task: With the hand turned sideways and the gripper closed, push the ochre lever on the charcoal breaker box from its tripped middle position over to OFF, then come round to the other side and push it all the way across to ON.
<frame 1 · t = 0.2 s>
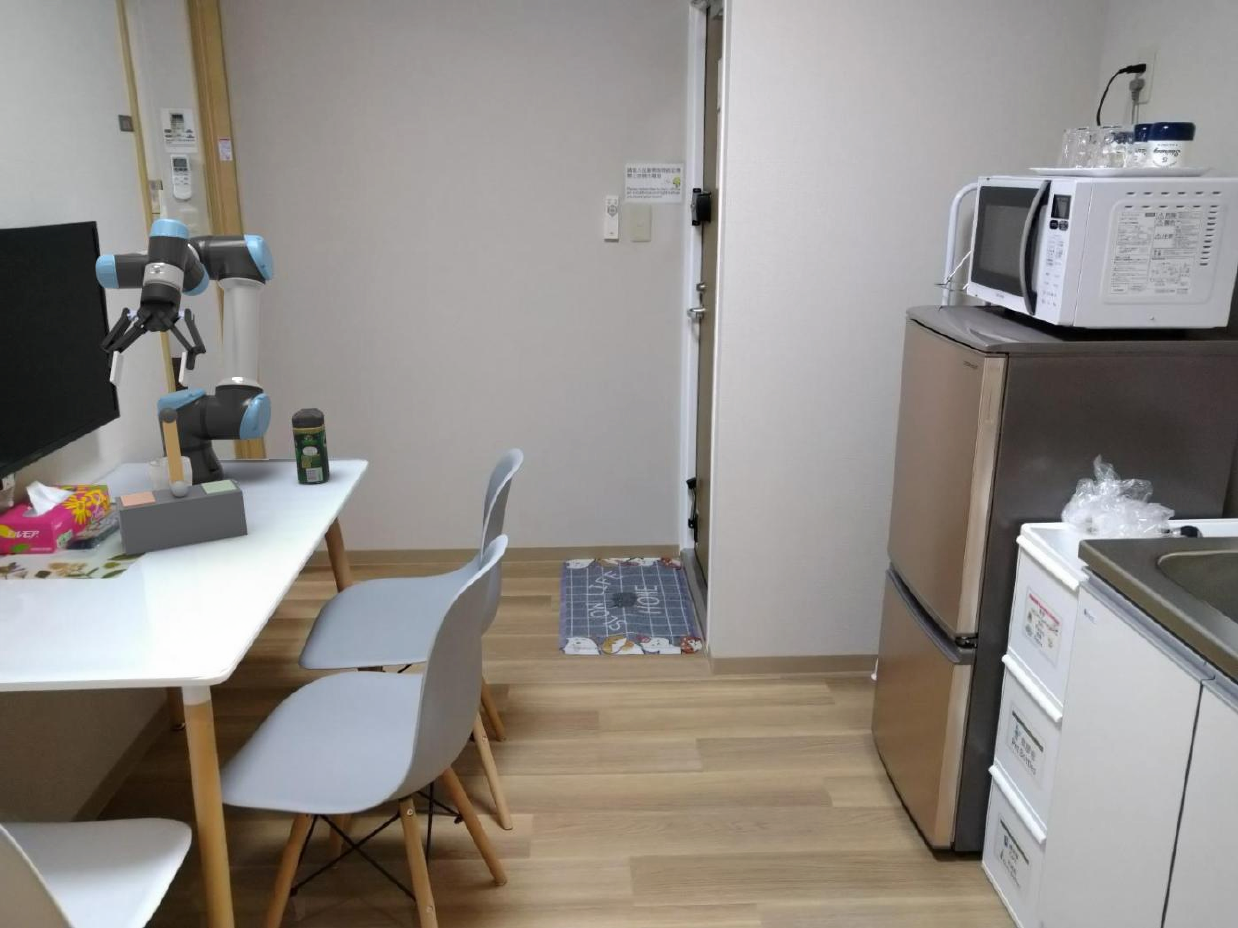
hand: (148, 384, 193), 35 cm above the table, tool tilted 35°, fingers open, 13 cm apart
lever: (173, 450, 201), point 20 cm above the table, hinge at 0.0°
breaker box: (185, 537, 207), on the table
cup: (176, 510, 224), on the table
coffee jar: (314, 480, 247), on the table
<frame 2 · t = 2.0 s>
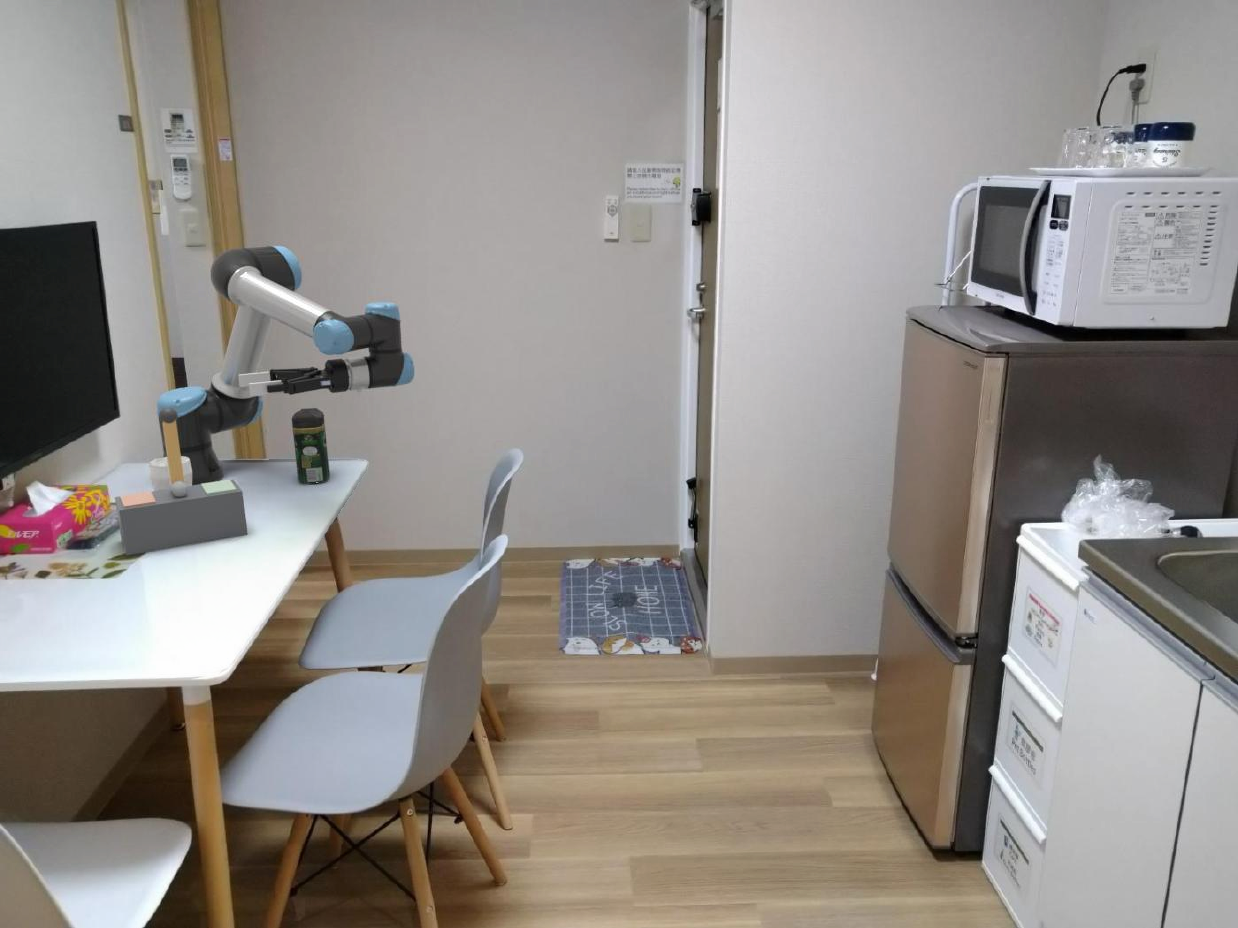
hand: (244, 385, 206), 32 cm above the table, tool horizontal, fingers open, 11 cm apart
nothing on the table moved.
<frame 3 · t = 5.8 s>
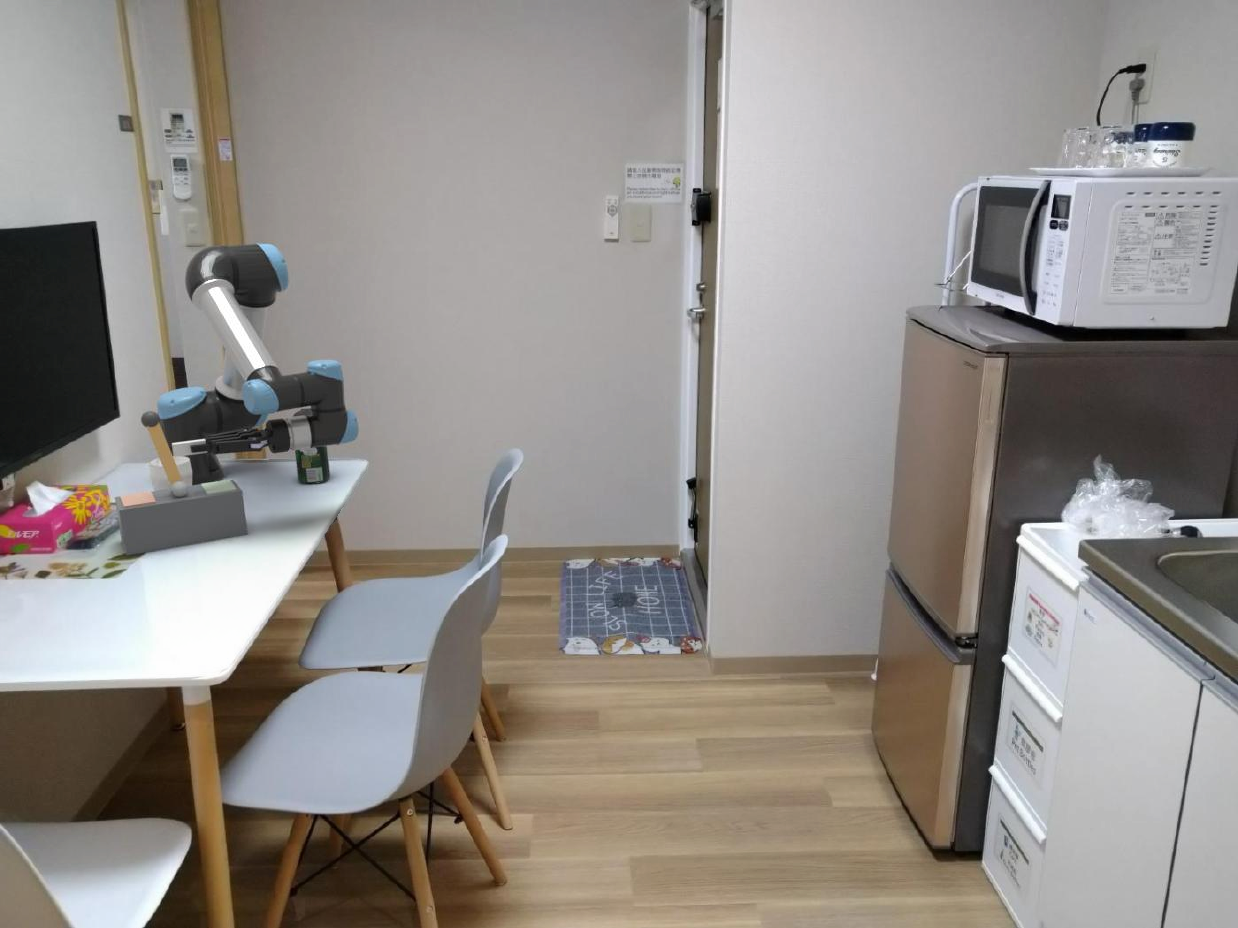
hand: (173, 450, 200), 20 cm above the table, tool horizontal, fingers closed
lever: (164, 452, 200), point 20 cm above the table, hinge at -12.7°, touching gripper
everything else where it was.
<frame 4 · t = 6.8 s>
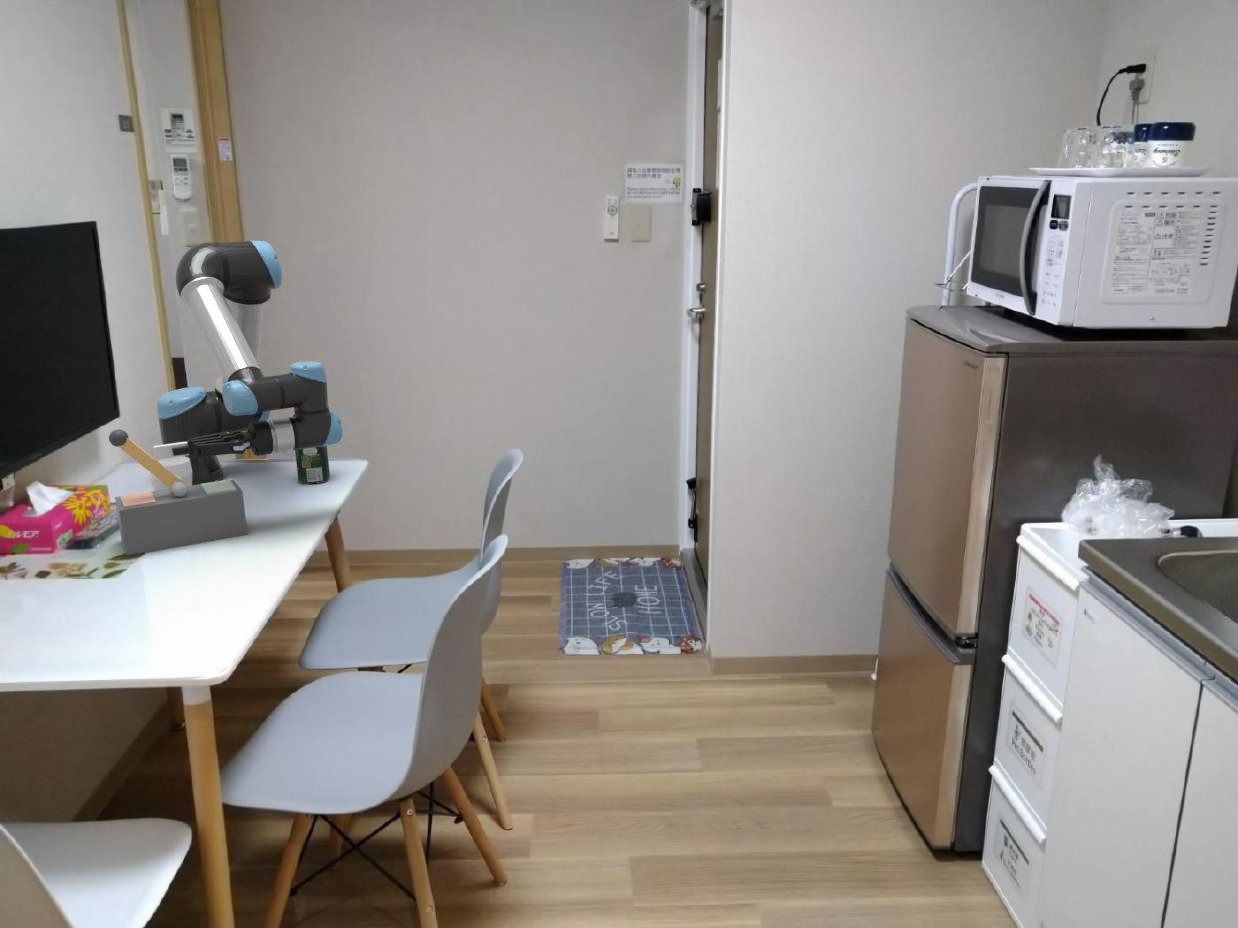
hand: (154, 452, 199), 20 cm above the table, tool horizontal, fingers closed
lever: (148, 462, 199), point 18 cm above the table, hinge at -39.0°, touching gripper
everything else where it was.
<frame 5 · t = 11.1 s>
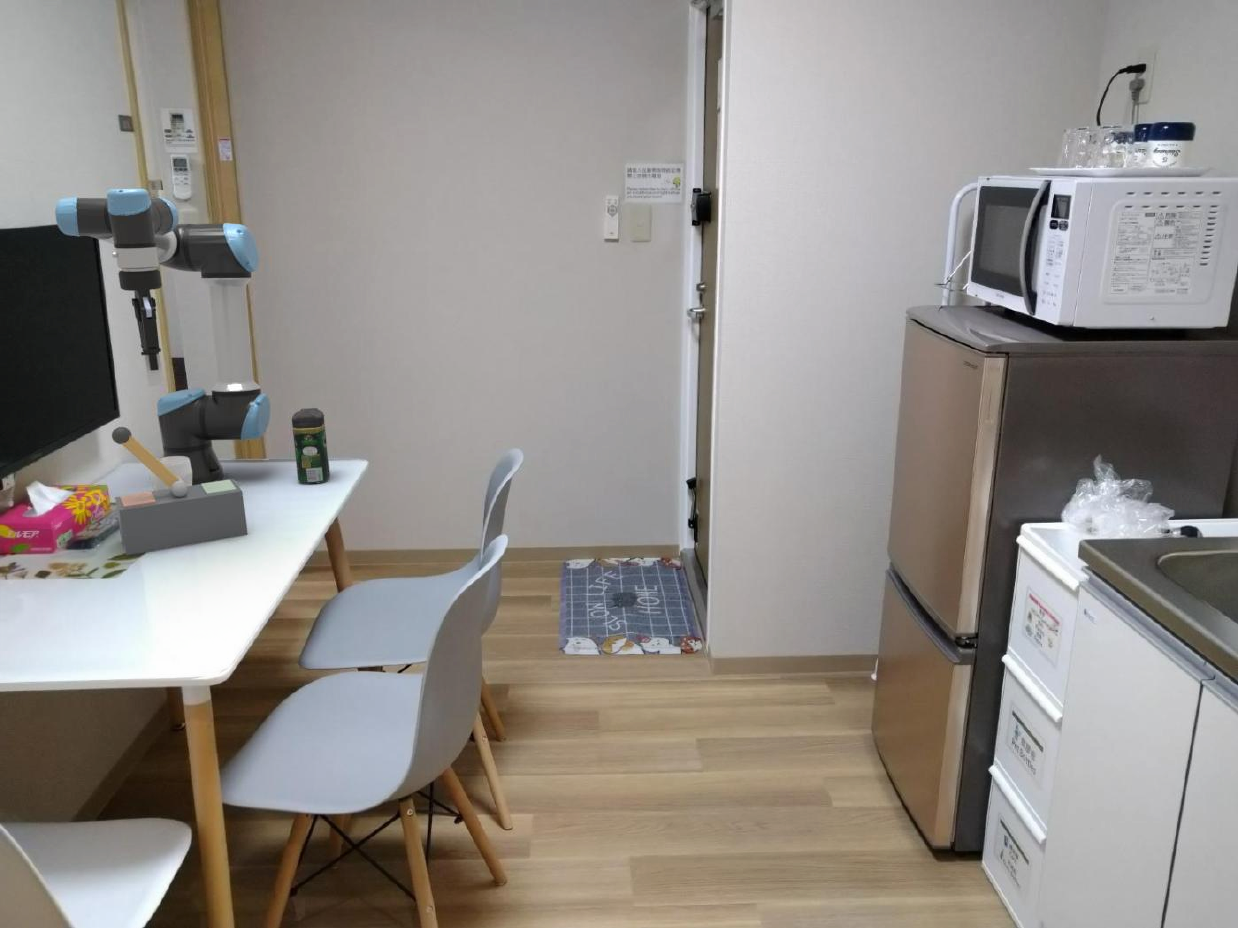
hand: (155, 384, 196), 34 cm above the table, tool pointing down, fingers closed
lever: (149, 460, 199), point 18 cm above the table, hinge at -36.2°
everything else where it was.
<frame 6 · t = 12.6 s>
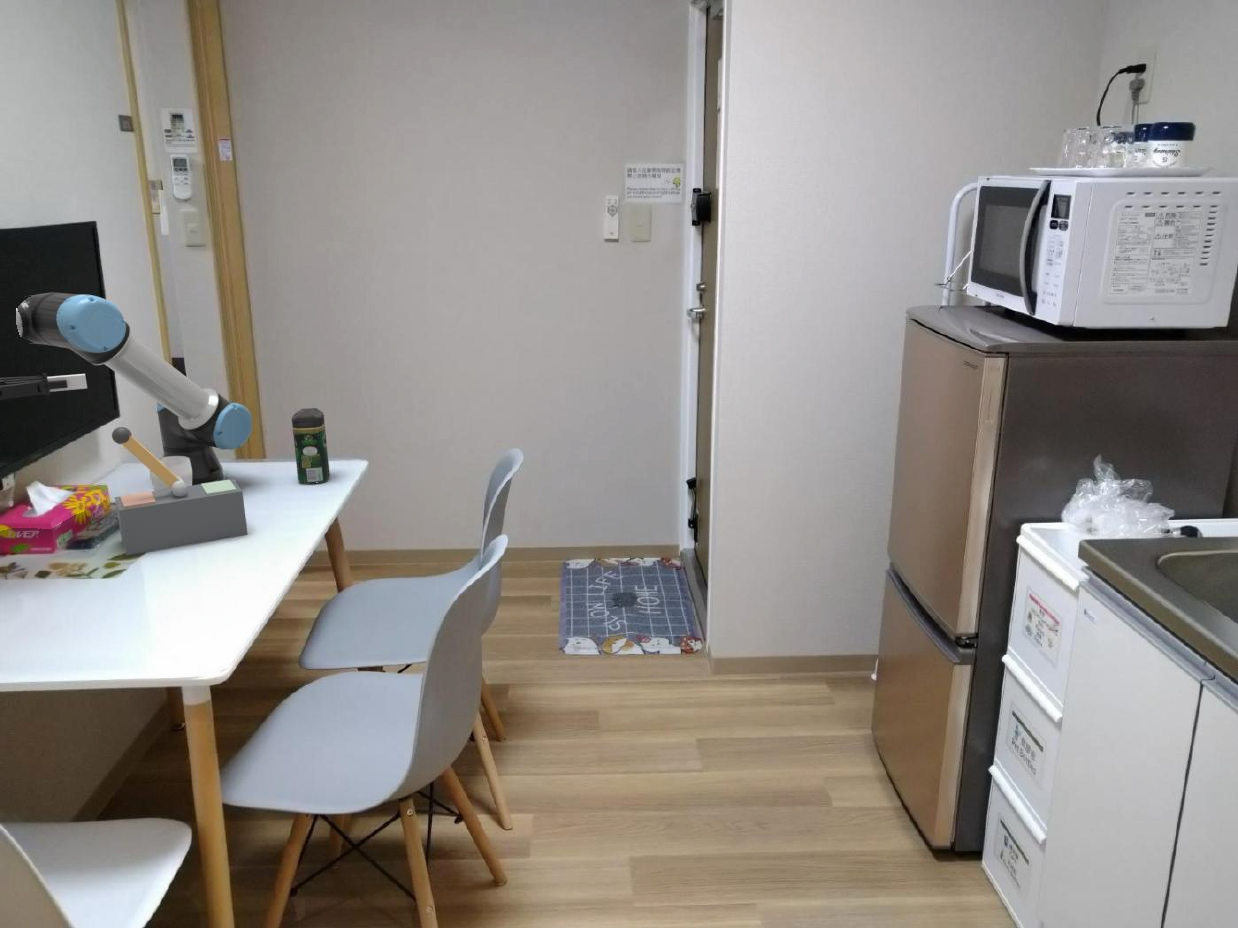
hand: (85, 381, 189), 36 cm above the table, tool horizontal, fingers closed
nothing on the table moved.
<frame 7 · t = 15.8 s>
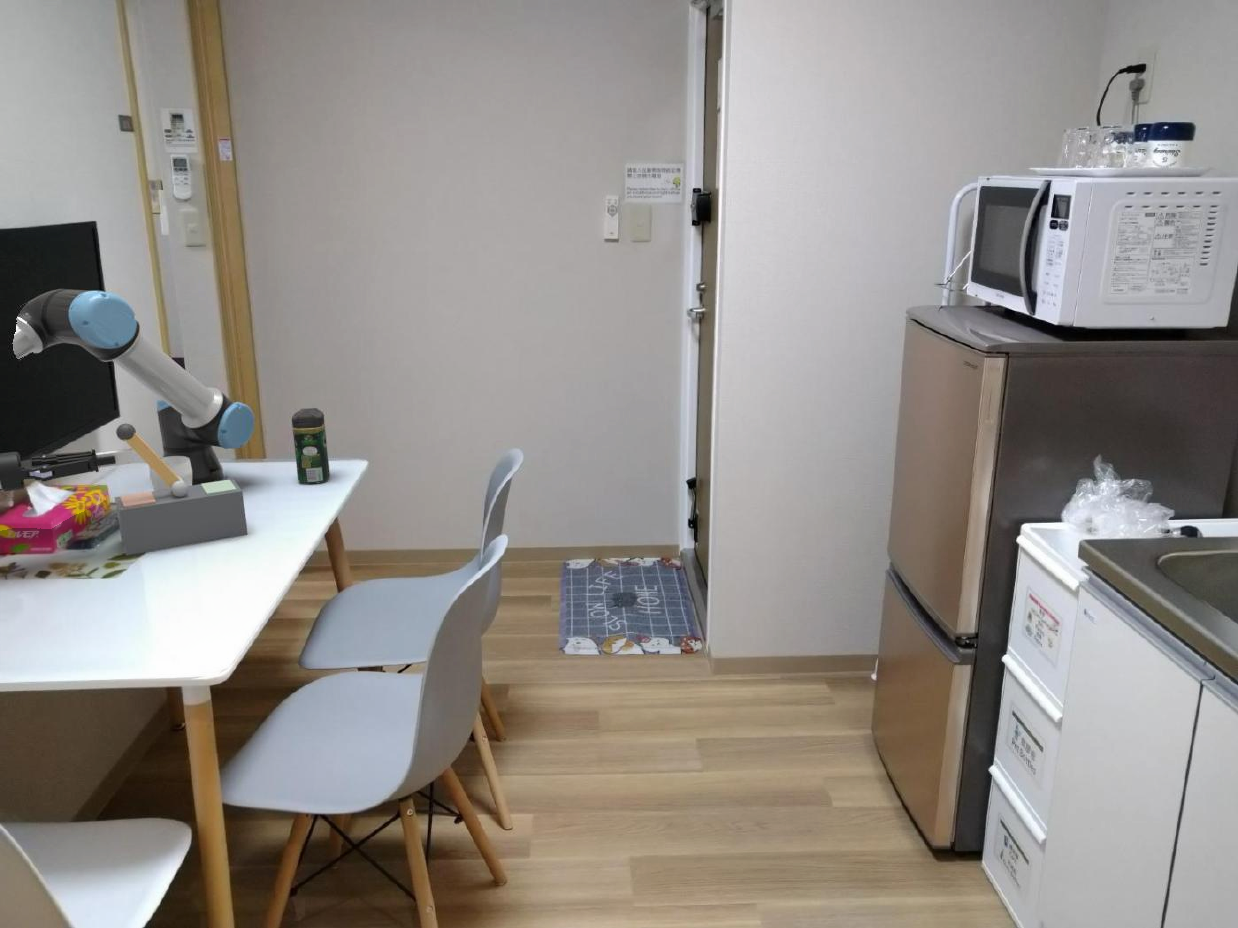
hand: (132, 455, 196), 20 cm above the table, tool horizontal, fingers closed
lever: (152, 459, 199), point 18 cm above the table, hinge at -32.2°, touching gripper
everything else where it was.
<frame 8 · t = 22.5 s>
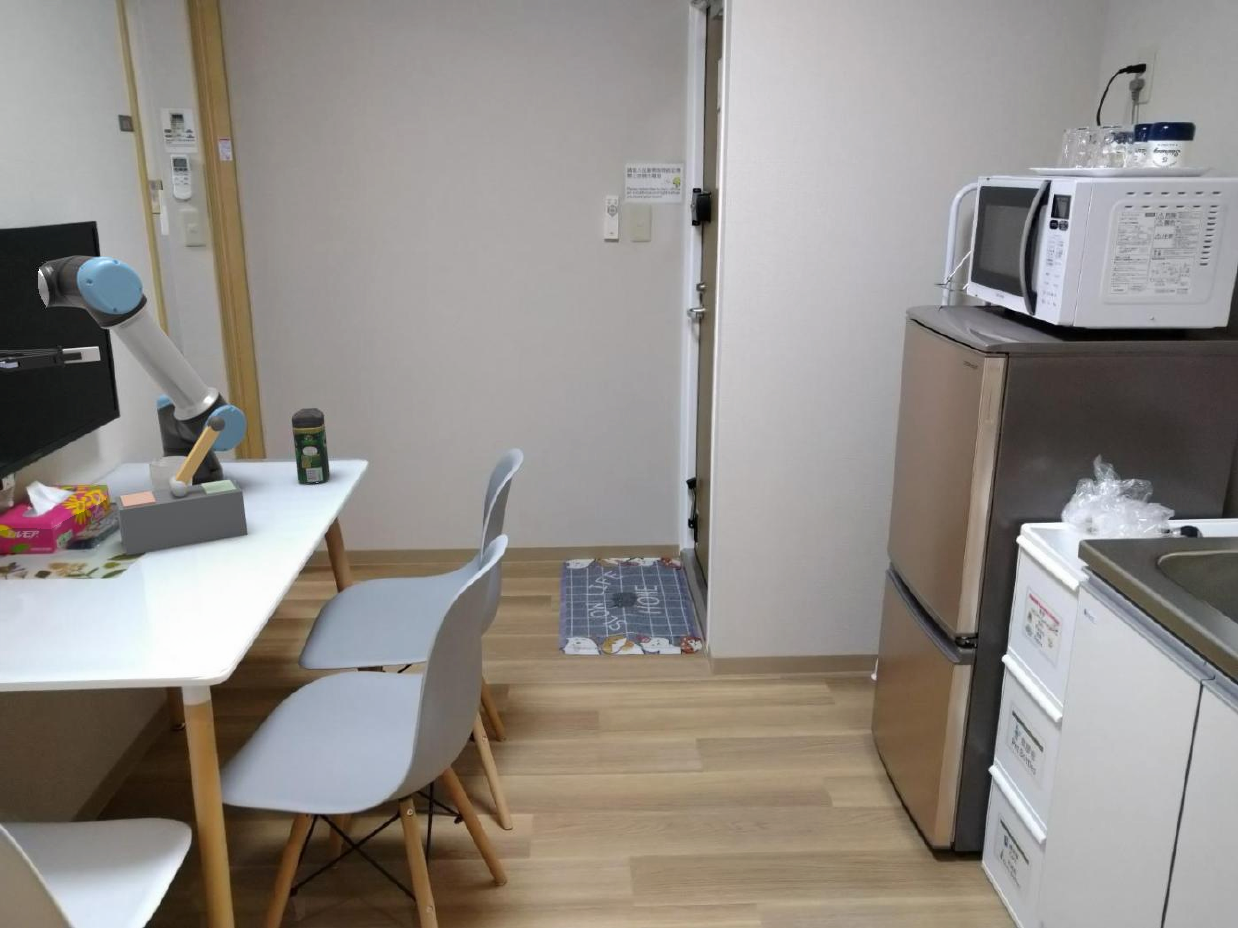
hand: (99, 353, 198), 40 cm above the table, tool horizontal, fingers closed
lever: (197, 454, 204), point 18 cm above the table, hinge at 36.2°
everything else where it was.
at the end: lever at +36° (first picture: +0°); cup moved 0.2 cm from its start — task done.
